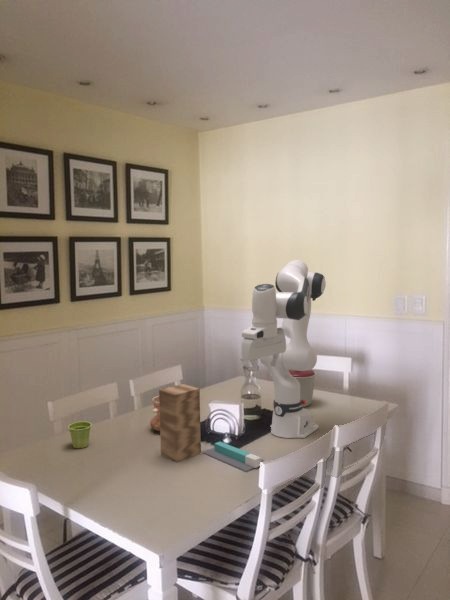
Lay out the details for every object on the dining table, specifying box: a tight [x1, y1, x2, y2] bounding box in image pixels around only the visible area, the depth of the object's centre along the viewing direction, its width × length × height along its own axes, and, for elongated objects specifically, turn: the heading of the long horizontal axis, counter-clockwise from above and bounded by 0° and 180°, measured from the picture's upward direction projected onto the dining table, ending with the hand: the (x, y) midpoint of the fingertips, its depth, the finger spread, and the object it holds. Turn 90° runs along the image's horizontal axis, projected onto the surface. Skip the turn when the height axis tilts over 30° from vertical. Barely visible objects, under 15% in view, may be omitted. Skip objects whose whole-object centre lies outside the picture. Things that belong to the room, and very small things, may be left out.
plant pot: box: [67, 421, 93, 449], centre depth 206 cm, size 9×9×9 cm
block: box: [214, 441, 262, 469], centre depth 190 cm, size 3×22×3 cm, turn 43°
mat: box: [202, 446, 265, 473], centre depth 192 cm, size 11×24×1 cm, turn 43°
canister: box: [289, 369, 317, 408], centre depth 255 cm, size 18×18×21 cm
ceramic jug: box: [149, 395, 160, 433], centre depth 223 cm, size 18×14×14 cm
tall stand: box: [158, 383, 202, 463], centre depth 195 cm, size 12×10×26 cm
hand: (264, 368), depth 179 cm, fingers open, 8 cm apart
